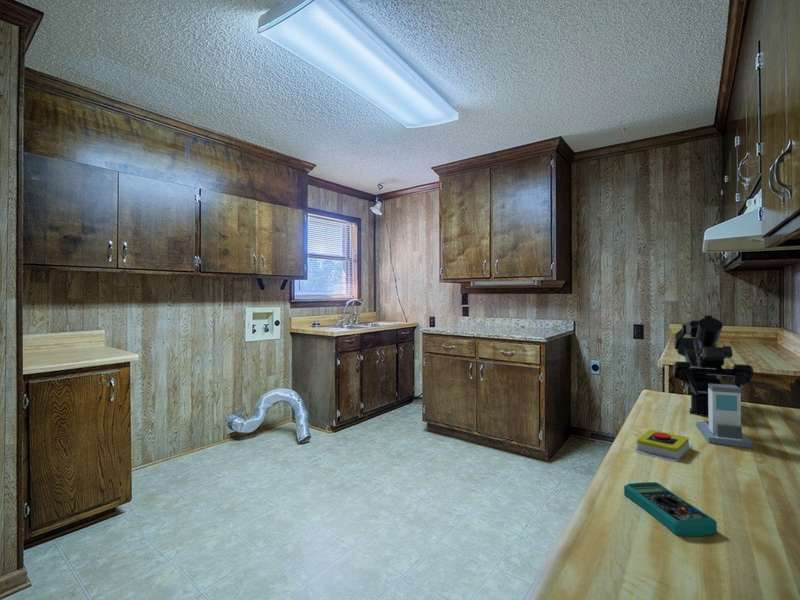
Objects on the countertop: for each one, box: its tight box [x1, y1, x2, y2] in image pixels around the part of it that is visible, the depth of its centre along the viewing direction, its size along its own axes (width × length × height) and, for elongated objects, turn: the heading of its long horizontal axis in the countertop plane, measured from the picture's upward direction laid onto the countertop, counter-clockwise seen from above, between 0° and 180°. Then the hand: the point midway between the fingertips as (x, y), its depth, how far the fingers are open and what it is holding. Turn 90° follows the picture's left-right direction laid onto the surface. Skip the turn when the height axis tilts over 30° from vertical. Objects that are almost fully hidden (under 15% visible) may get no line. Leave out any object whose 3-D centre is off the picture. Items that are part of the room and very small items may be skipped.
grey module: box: [708, 383, 742, 434], centre depth 110 cm, size 5×6×12 cm
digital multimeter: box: [623, 481, 718, 537], centre depth 74 cm, size 7×15×3 cm, turn 4°
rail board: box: [695, 420, 753, 449], centre depth 112 cm, size 15×9×2 cm, turn 154°
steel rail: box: [703, 420, 742, 441], centre depth 112 cm, size 15×5×1 cm, turn 154°
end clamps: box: [717, 424, 743, 439], centre depth 110 cm, size 10×5×3 cm, turn 154°
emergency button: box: [634, 429, 692, 463], centre depth 104 cm, size 9×4×15 cm
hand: (716, 396), depth 117 cm, fingers open, 9 cm apart
